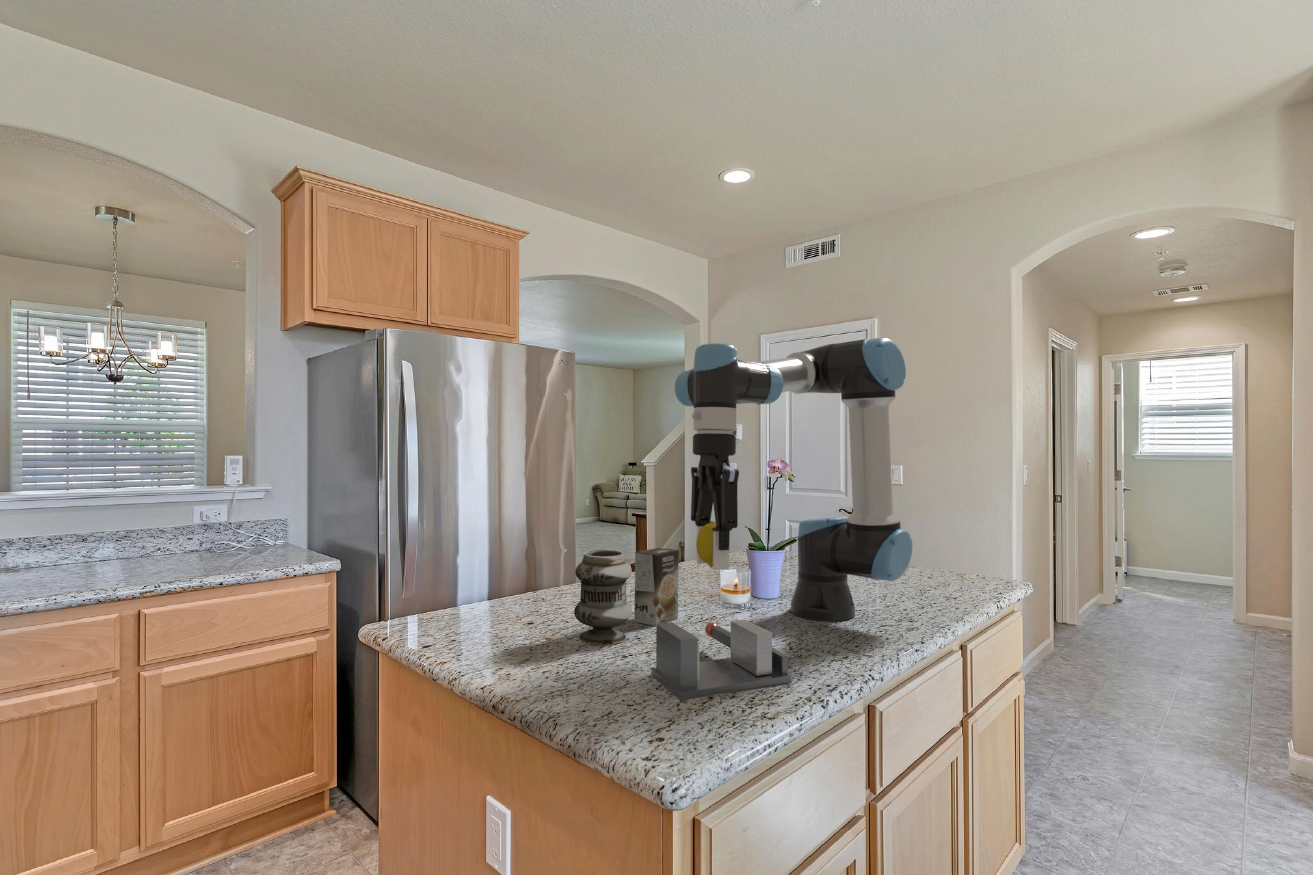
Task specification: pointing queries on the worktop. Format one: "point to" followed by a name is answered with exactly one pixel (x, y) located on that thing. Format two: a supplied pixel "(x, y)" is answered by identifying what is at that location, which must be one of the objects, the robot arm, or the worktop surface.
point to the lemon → (706, 543)
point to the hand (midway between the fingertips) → (712, 565)
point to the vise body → (705, 667)
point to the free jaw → (746, 645)
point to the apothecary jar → (603, 596)
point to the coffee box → (656, 586)
